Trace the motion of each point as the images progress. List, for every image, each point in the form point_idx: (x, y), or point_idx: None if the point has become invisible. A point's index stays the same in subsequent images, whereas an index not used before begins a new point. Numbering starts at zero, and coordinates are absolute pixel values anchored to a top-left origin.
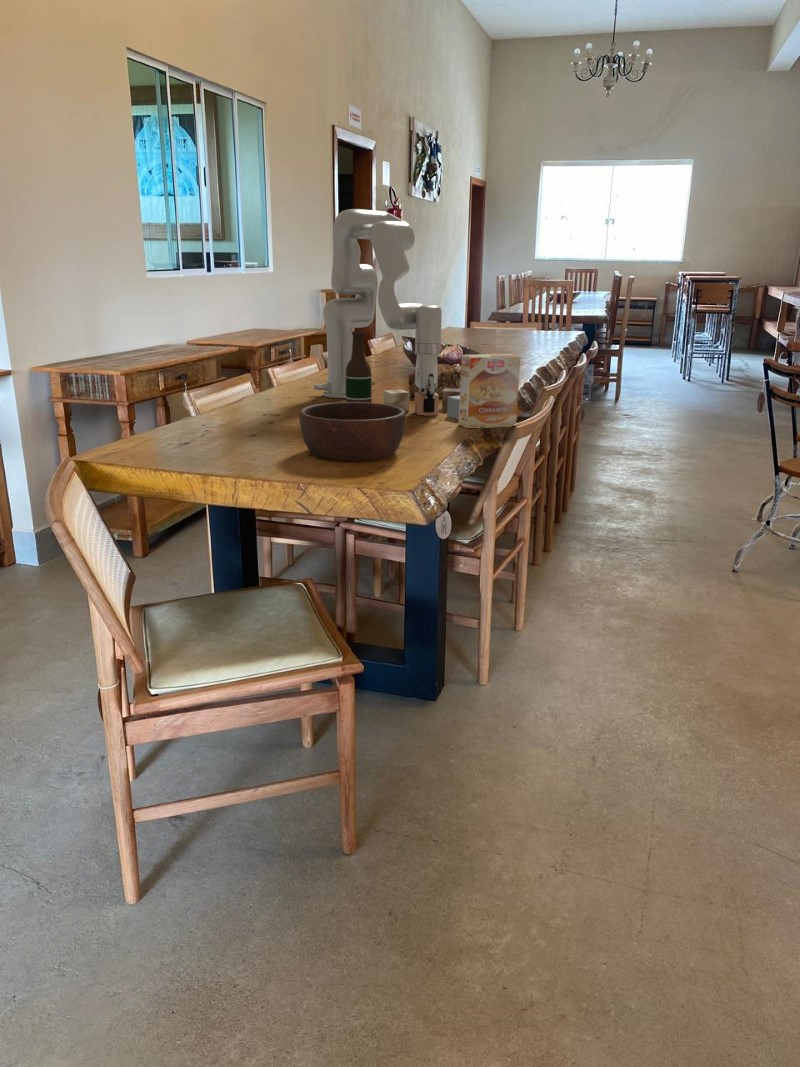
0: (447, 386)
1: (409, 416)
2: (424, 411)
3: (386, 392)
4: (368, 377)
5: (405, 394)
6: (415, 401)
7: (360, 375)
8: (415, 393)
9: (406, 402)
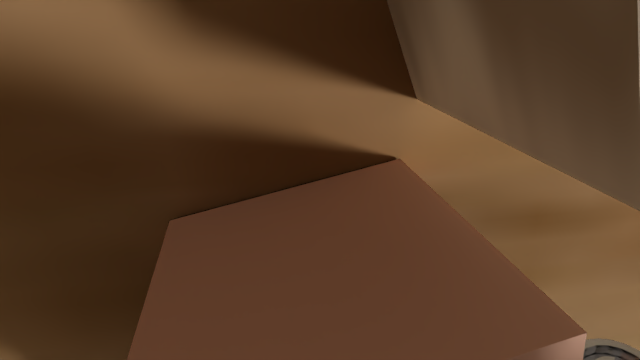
0: None
1: (89, 113)
2: None
3: None
4: None
5: (588, 90)
6: (402, 244)
7: None
8: (496, 343)
9: (475, 82)
